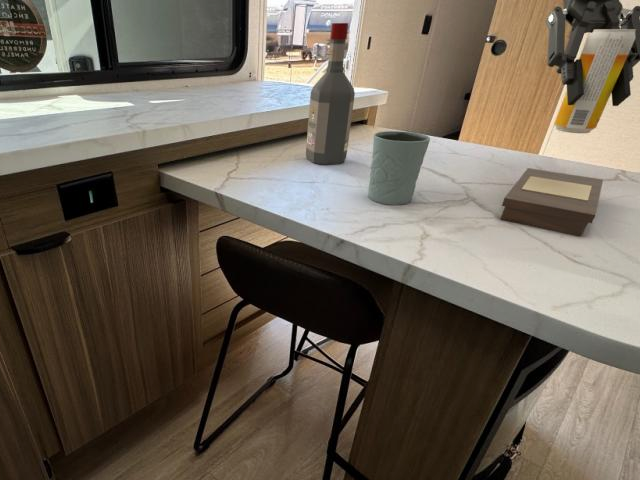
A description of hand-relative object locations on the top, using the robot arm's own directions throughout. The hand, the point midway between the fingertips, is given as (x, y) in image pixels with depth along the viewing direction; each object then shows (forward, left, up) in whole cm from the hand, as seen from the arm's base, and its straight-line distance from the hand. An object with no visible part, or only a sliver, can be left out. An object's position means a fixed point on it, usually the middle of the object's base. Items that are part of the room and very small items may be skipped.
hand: (598, 99), depth 67 cm
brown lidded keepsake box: (0, -2, -19) cm, 19 cm away
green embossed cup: (+29, +1, -19) cm, 35 cm away
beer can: (+1, -4, -6) cm, 7 cm away
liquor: (+46, -24, -19) cm, 55 cm away
